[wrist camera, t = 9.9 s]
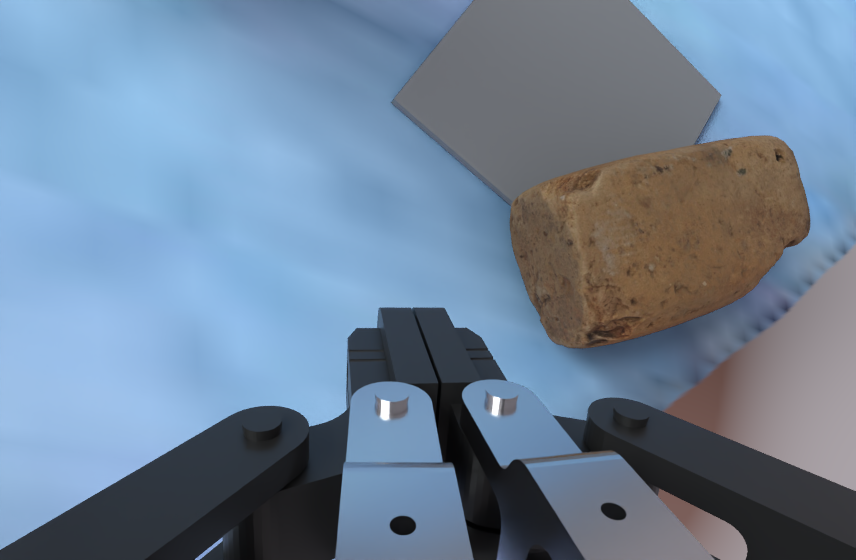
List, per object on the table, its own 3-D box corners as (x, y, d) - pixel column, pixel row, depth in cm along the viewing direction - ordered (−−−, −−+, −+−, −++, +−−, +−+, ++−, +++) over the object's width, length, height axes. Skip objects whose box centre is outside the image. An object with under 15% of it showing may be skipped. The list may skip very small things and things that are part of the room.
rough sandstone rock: (556, 162, 29) (796, 118, 37) (490, 197, 36) (704, 154, 44) (609, 358, 29) (839, 274, 37) (532, 357, 36) (740, 286, 44)
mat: (391, 102, 36) (393, 98, 35) (540, -82, 41) (544, -87, 41) (608, 289, 40) (613, 289, 39) (715, 98, 46) (721, 95, 45)
